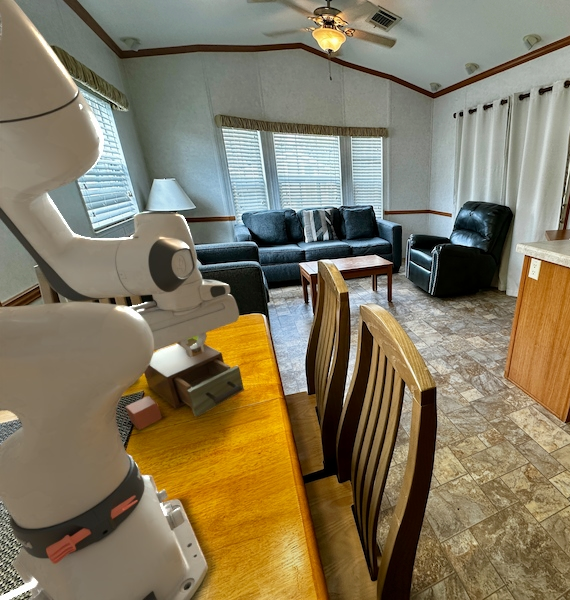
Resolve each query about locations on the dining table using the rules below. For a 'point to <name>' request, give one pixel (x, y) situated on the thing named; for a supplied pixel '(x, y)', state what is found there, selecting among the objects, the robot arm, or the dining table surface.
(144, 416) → the block
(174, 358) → the cabinet
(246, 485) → the dining table surface
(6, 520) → the dining table surface
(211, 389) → the drawer
